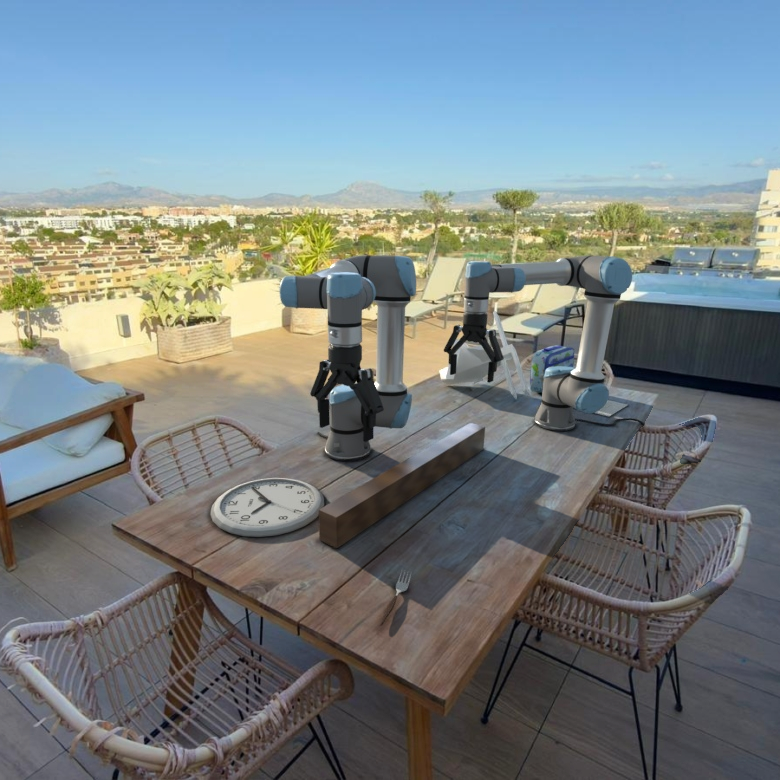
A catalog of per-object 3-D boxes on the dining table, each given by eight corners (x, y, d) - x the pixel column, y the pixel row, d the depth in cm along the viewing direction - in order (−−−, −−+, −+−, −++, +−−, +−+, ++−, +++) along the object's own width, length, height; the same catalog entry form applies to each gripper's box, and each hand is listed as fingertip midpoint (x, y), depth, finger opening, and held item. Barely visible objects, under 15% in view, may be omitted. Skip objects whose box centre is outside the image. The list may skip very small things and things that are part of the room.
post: (469, 444, 184) (470, 422, 182) (483, 449, 181) (485, 426, 179) (319, 540, 127) (318, 509, 124) (336, 548, 124) (336, 517, 121)
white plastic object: (461, 429, 252) (437, 405, 227) (444, 352, 274) (420, 323, 250) (535, 404, 240) (518, 377, 215) (510, 326, 262) (492, 293, 237)
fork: (373, 626, 100) (374, 617, 99) (401, 576, 114) (401, 568, 113) (386, 630, 99) (386, 621, 98) (412, 579, 113) (412, 571, 112)
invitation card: (608, 416, 214) (573, 407, 224) (608, 416, 214) (573, 408, 224) (628, 404, 229) (594, 396, 238) (628, 405, 229) (594, 397, 238)
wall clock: (322, 529, 128) (196, 532, 126) (322, 534, 129) (197, 538, 126) (326, 473, 157) (223, 476, 154) (326, 478, 157) (224, 481, 155)
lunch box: (546, 398, 236) (551, 353, 229) (525, 393, 243) (529, 349, 237) (573, 387, 253) (579, 344, 247) (553, 382, 260) (558, 341, 254)
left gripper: (293, 338, 120) (296, 424, 127) (378, 355, 106) (377, 451, 112) (316, 334, 126) (318, 416, 132) (400, 349, 112) (398, 441, 118)
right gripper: (435, 309, 167) (432, 373, 173) (507, 318, 153) (501, 387, 159) (447, 306, 173) (444, 368, 179) (518, 315, 159) (512, 382, 165)
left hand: (345, 432), depth 122 cm, fingers open, 13 cm apart
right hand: (471, 377), depth 169 cm, fingers open, 13 cm apart
